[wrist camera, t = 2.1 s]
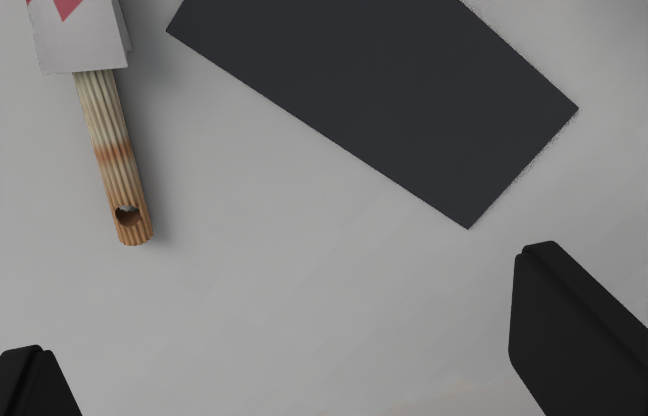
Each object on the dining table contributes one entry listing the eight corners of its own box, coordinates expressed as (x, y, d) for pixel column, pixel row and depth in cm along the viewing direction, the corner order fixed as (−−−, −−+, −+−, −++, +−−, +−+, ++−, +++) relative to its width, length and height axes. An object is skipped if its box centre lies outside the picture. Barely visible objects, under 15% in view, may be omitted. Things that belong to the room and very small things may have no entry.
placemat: (166, 29, 28) (165, 31, 27) (280, -160, 25) (281, -161, 24) (465, 227, 37) (468, 230, 36) (575, 106, 34) (579, 108, 33)
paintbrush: (70, -193, 20) (167, 247, 31) (84, -187, 23) (170, 220, 33) (-42, -190, 20) (96, 256, 30) (-16, -185, 22) (103, 228, 33)
